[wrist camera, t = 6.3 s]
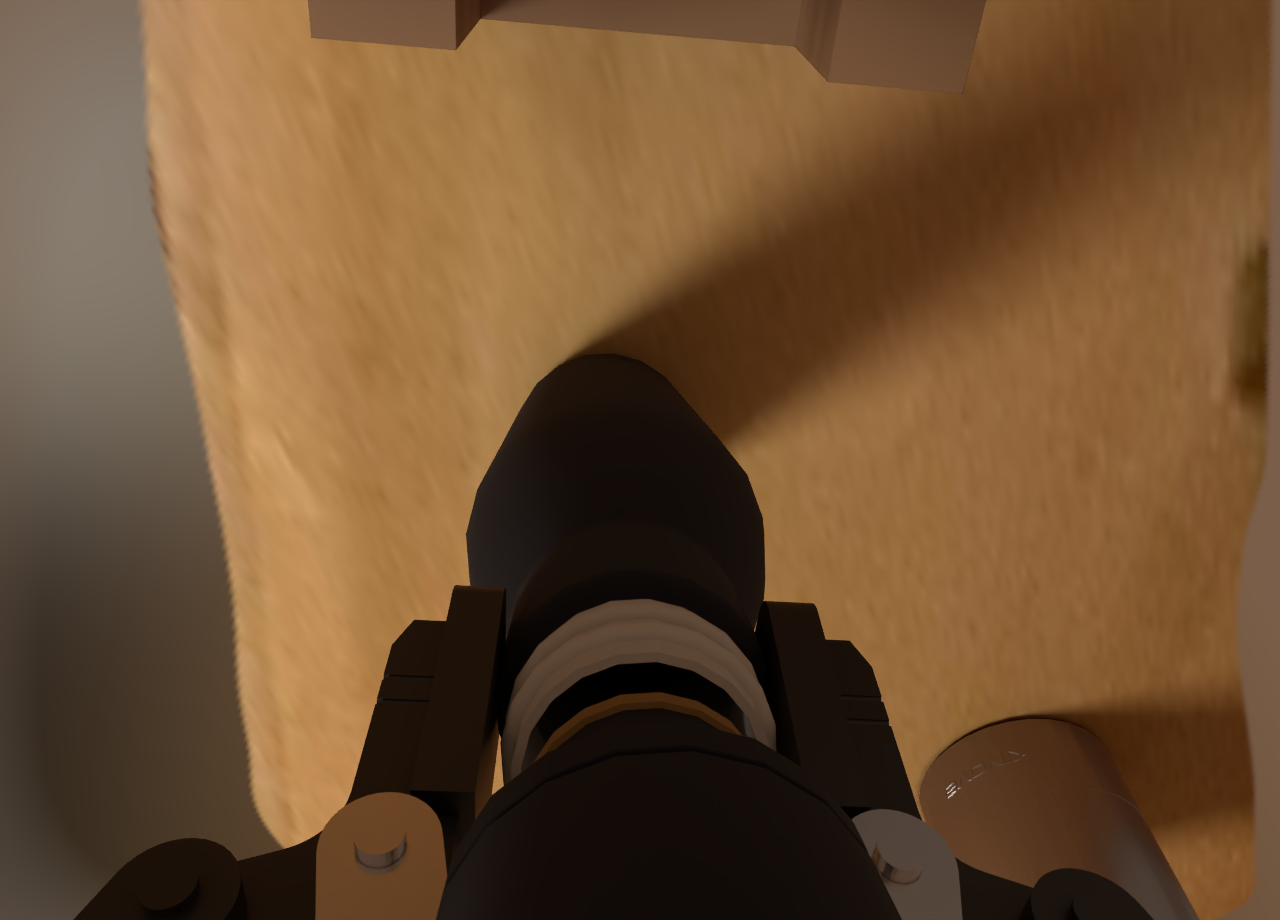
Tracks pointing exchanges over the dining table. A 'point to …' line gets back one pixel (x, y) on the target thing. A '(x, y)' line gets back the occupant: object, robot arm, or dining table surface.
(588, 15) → the walnut U-rest
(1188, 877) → the dining table surface
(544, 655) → the black bottle
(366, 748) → the robot arm
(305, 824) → the dining table surface
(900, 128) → the dining table surface
